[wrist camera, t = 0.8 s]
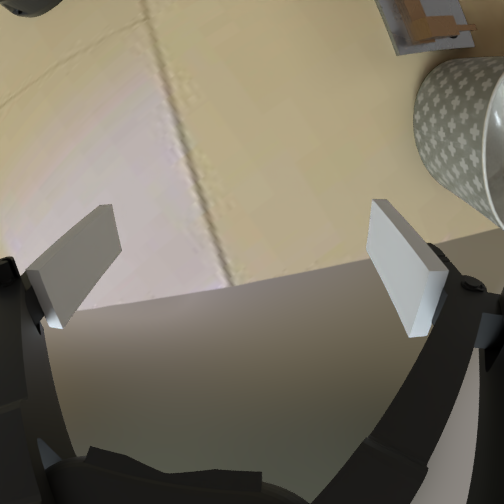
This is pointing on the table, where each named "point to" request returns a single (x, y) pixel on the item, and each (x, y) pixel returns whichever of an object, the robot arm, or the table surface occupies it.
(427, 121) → the planter
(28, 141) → the table surface
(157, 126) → the table surface
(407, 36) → the gauge board
